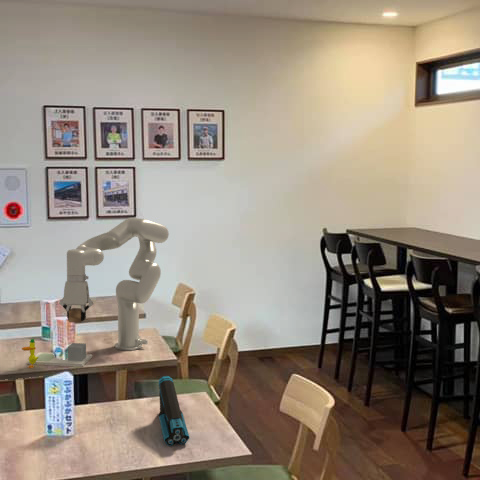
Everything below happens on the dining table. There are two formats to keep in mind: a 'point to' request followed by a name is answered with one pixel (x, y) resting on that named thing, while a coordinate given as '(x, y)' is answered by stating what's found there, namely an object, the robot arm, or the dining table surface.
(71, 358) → the pedestal
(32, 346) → the toy figure
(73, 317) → the walnut cube
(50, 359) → the build plate
